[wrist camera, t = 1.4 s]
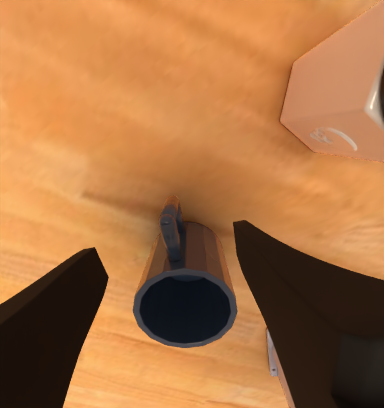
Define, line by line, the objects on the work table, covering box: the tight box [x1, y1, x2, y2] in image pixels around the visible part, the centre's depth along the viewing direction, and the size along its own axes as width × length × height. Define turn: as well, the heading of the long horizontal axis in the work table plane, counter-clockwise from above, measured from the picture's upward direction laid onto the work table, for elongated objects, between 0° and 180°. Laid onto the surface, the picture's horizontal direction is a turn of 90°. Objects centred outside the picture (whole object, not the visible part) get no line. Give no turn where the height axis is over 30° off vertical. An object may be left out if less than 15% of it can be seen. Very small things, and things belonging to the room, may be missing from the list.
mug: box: [133, 196, 237, 348], centre depth 18 cm, size 11×8×8 cm
